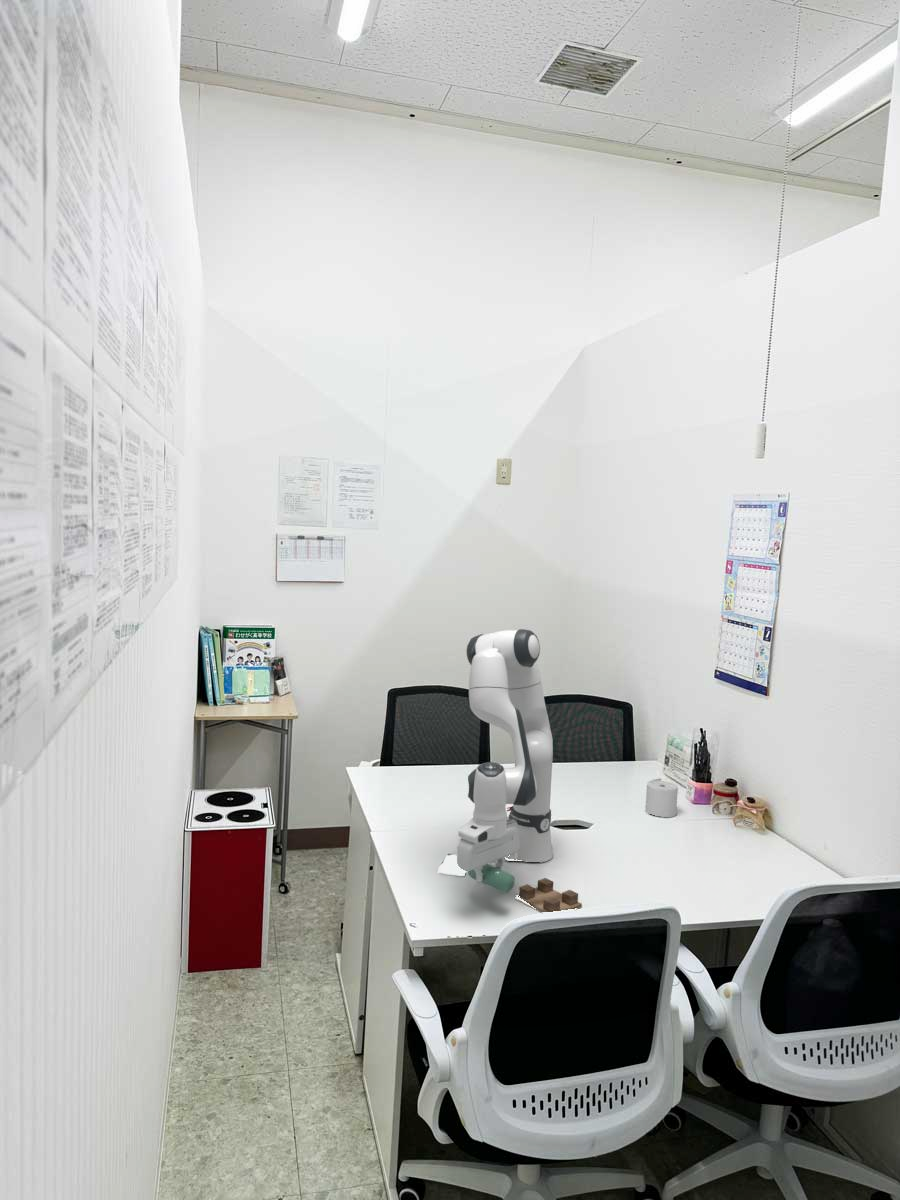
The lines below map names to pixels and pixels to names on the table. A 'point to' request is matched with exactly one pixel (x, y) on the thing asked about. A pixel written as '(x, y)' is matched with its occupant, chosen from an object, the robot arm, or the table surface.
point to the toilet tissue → (661, 798)
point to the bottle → (496, 878)
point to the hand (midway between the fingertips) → (489, 877)
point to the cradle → (548, 897)
